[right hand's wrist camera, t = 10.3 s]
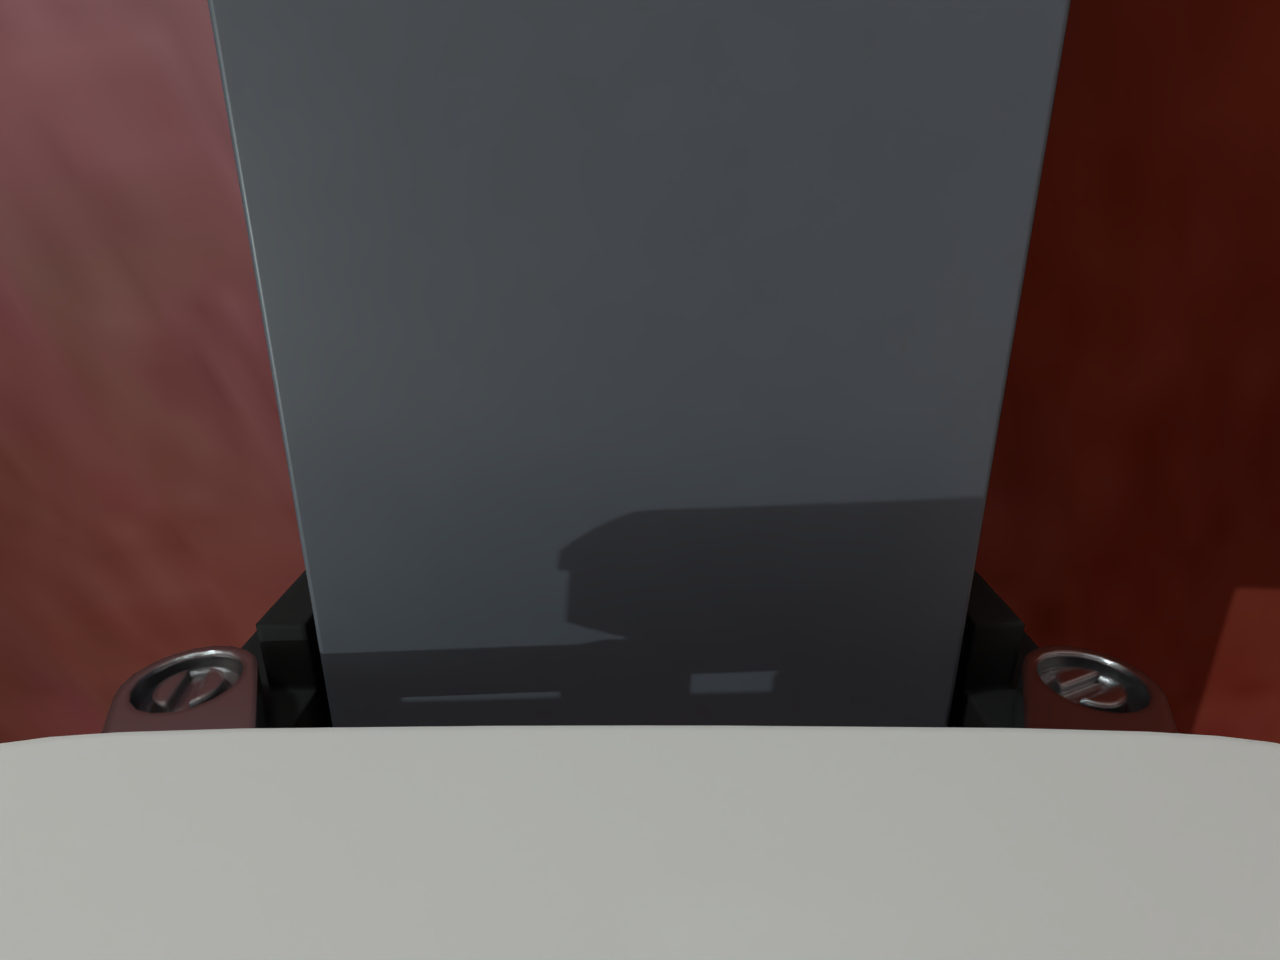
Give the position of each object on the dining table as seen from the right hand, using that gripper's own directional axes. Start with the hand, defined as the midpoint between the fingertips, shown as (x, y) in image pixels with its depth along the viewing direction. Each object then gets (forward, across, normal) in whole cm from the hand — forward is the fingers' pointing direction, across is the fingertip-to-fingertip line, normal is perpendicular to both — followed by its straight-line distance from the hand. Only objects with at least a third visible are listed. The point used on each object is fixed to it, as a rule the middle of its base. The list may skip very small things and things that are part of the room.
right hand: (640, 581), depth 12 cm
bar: (+2, 0, -35) cm, 35 cm away
